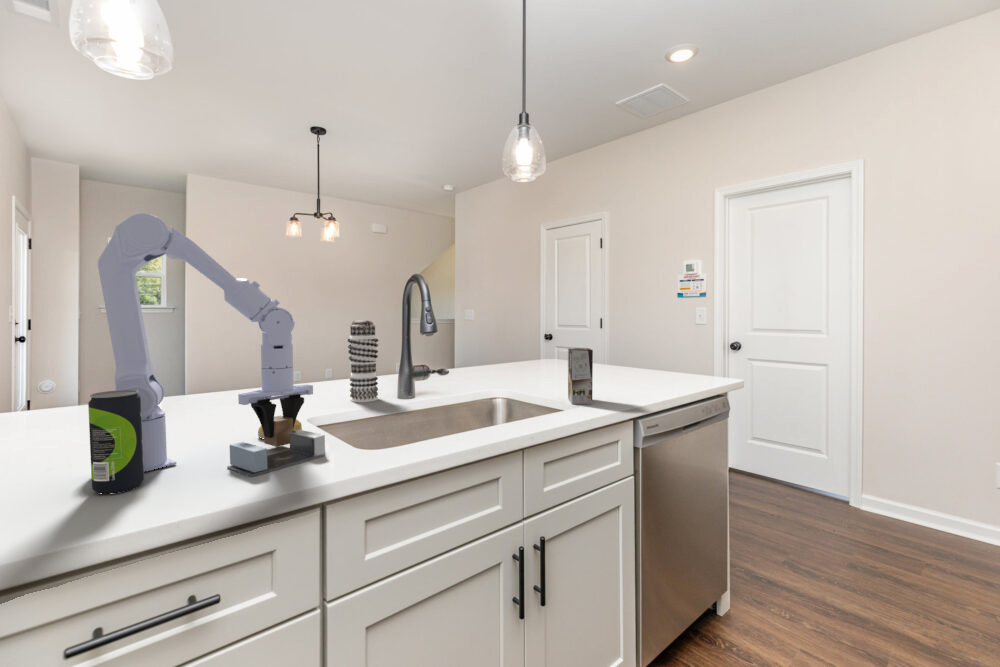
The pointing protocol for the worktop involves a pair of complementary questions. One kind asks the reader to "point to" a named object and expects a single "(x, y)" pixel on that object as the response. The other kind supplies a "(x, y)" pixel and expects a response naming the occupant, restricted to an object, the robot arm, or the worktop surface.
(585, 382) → the coffee box
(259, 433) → the bread roll
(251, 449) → the sliding jaw
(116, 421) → the beverage can
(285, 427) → the walnut block
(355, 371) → the decorative candle
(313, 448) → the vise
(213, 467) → the worktop surface
